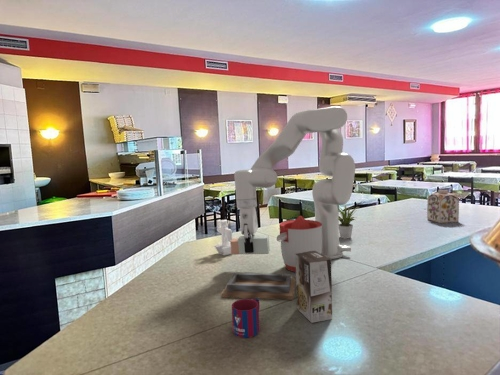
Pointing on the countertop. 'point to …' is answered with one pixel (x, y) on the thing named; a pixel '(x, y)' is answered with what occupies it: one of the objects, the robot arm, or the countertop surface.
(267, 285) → the jig
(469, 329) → the countertop surface
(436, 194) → the decorative jar
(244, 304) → the mug
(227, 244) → the figurine
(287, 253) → the citrus juicer
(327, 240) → the robot arm
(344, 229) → the house plant
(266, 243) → the white bar
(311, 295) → the coffee box
